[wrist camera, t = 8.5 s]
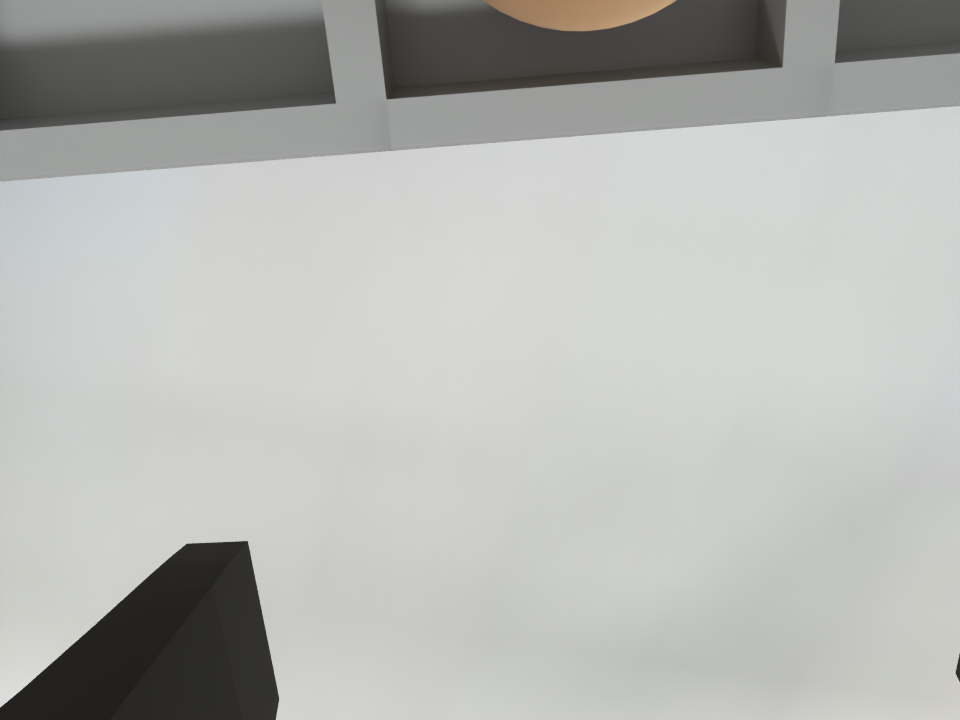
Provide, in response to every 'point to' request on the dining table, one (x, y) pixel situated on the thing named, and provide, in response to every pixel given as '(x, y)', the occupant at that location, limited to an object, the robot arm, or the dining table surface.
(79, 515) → the dining table surface
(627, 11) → the brown egg
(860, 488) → the dining table surface
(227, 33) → the egg tray
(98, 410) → the dining table surface
